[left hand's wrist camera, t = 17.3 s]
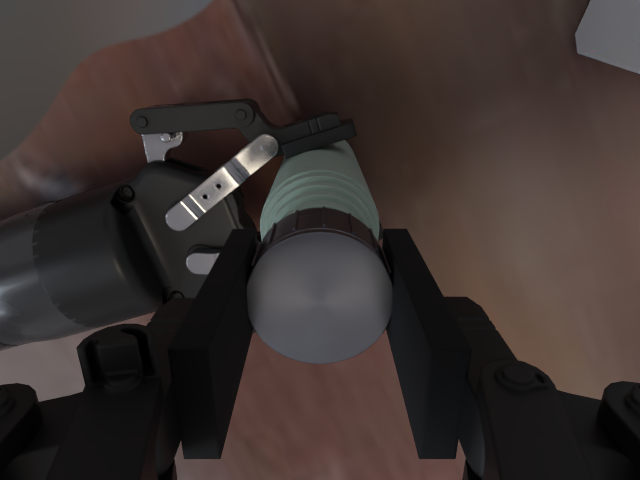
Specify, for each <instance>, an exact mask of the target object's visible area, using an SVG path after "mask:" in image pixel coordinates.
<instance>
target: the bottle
mask: <svg viewBox="0 0 640 480" xmlns="http://www.w3.org/2000/svg"><path fill="white" fill-rule="evenodd" d="M323 207H325V208H331V209H336V210H339V211H343V212H346V213H348V214H349V213H351V215H352V216H354V217H355V218H357V219H359V220H360V221H361V222H362V223H364V224H365V225H366V226H367V227H368V228H371V229H372V231H373V234H374V236H375V237H376V239H377V241H378V236H379V216H378V212H377V209H376V206H375V203H374V201H373V198H372V196H371V193H370V191H369V189H368V186H367V184H366V181H365V179H364V176H363V174H362V172H361V169H360V167H359V164H358V162H357V159H356V157H355V155H354V152H353V150H352V148H351V147H350V145H349V144H348V143H347V142H346V141H345V140H343V141H340V142H337V143H333V144H330V145H327V146H324V147H321V148H318V149H314V150H311V151H307V152H304V153H301V154H298V155H295V156H292V157H289V158H285V156H284V159H283V161H282V163H281V166H280V168H279V171H278V173H277V175H276V178H275V180H274V183H273V185H272V188H271V190H270V192H269V195H268V197H267V200H266V202H265V205H264V207H263V210H262V214H261V220H260V232H261V240H263V238H264V237H265V235H266V233H267V232H268V231H269V230H270V229H271V228H272V226H273V223H277V222H278V221H280V220H281V219H283V218H284V217H286V216H288V215H290V214H292V213H294V212H296V210H299V211H300V210H304V209H309V208H323Z"/></svg>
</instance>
